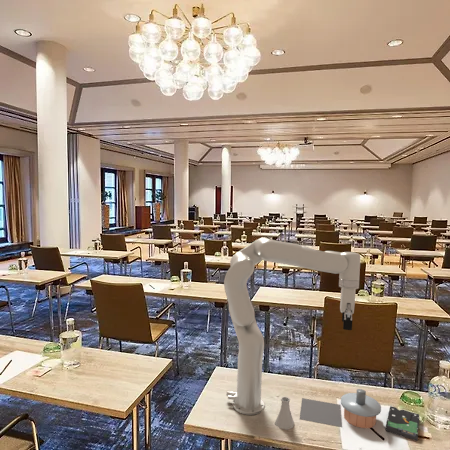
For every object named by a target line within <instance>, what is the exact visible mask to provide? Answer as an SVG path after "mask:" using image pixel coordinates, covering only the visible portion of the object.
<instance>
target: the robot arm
mask: <svg viewBox="0 0 450 450" xmlns="http://www.w3.org/2000/svg"><path fill="white" fill-rule="evenodd" d="M262 261H265V262H271V263H275V264H283V265H289V266H294V267H297V268H302V269H303V268H304V269H309V270H314V271H318V272H322V273H323V272H324V273H331V274H335V275H336V274H339V276H338V278H339V279H338V288H340V289H341V290H340V298H339V299H340V303H339V311H340V313H341V314H342V315H341V321H342V323H343V324H342V325H343V326H342V329H343V330H345V331H352V330H353V314H354V313H355V304H356V290H358V289H360V272H361V271H360V269H361V255H360V253H358V252H354V251H344V252H343V251H342V252H340V251H336V250H335V251H334V250H325V251H322V250H318V249H314V248H312V247H308V246H306V245H302V244H298V243H292V242H286V241H280V240H275V239H270V238H268V237H260V238H258V239H256V240H254V241H253V242H251V243H250V244H249V245H246V246H245V247H244V248H242V249H240V250H239V251H237V252H236V253H235V254H233V255H232V257H231V259H230V262H229V263H230V267H229V268H228V270H227V272H226V273H225V276H224V281H223V286H224V292H225V295H226V301H227V303H228V312H229V315H230V320H231V322H232V325H233V329H234V331H235V335H236V337H237V341H238V352H237V353H238V354H237V376H236V377H237V379H236V381H237V383H236V390H235V391H233V390H232V391H231V390H227V391H226V395H225V396H226V397H227V399H228V400H232V407H233V409H234V410H235V411H236V412H238V413H240V414H243V415H247V416H253V415H259V414H260V413H261V412H262V411H263V410H264V409H265V406H266V404H265V402H264V400H263V399H262V380H263V378H262V377H263V357H264V356H263V355H264V350H265V340H264V336H263V333H262V332H261V329H260V328H259V326H258V323H257V320H256V315H255V308H254V306H253V304H252V301H251V298H250V294H249V290H248V286H247V283H248V280H249V278H250V277H252V275H253V273H254V271H255V265H257V264H259V263H261V262H262Z"/></svg>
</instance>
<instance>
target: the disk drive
mask: <svg viewBox="0 0 450 450" xmlns="http://www.w3.org/2000/svg"><path fill="white" fill-rule="evenodd" d="M419 426H420V414H419V413H416V412H412V411H409V410H405V409H398V408H397V407H395V406H389V410H388V414H387V418H386V423H385V432H387V433H391V434H393V435H397V436H401V437H403V438H406V439H410V440H413V441H415V442H418V441H419V440H418V439H419Z"/></svg>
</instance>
